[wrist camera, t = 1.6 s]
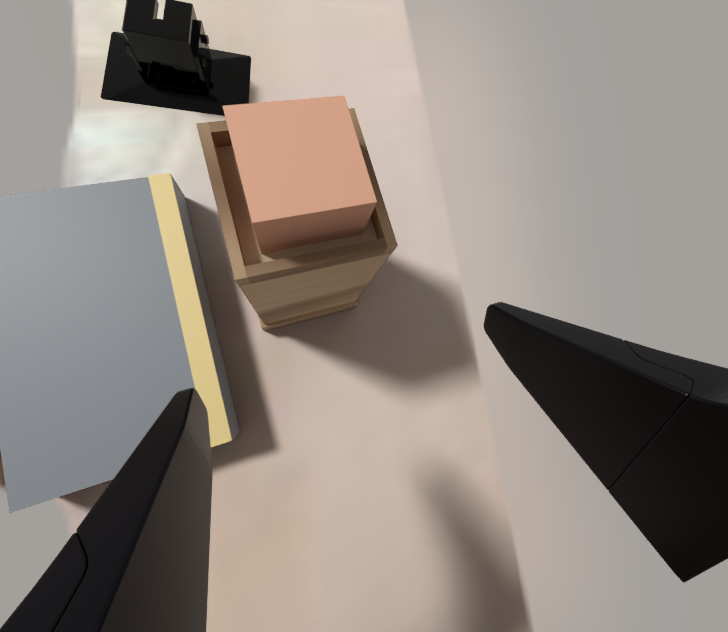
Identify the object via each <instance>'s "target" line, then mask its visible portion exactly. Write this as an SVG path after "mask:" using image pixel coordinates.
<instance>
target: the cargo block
mask: <svg viewBox="0 0 728 632" xmlns="http://www.w3.org/2000/svg"><path fill="white" fill-rule="evenodd" d="M223 110H224V114H225V118H226V122H227V126H228V130H229V134H230V138H231V142H232V146H233V150H234V154H235V158H236V161H237V165H238V169H239V173H240V177H241V181H242V185H243V189H244V193H245V197H246V201H247V205H248V209H249V213H250V217H251V221H252V224H253V228H254V231H255V234H256V238H257V241H258V244H259V248H260V251H261V254H263V253H268V252H273V251H278V250H284V249H289V248H294V247H299V246H304V245H310V244H315V243H320V242H325V241H331V240H336V239H341V238H346V237H351V236H357V235H362V234H363V232H364V230H365V227H366V225H367V223H368V221H369V219H370V216H371V214H372V212H373V210H374V208H375V205H376V203H377V200H376V197H375V194H374V191H373V187H372V184H371V181H370V178H369V174H368V171H367V168H366V165H365V161H364V158H363V155H362V152H361V148H360V145H359V142H358V139H357V135H356V132H355V129H354V126H353V122H352V119H351V116H350V113H349V109H348V106H347V103H346V100H345V96H336V97H324V98H311V99H299V100H287V101H275V102H262V103H250V104H238V105H225V106H223Z"/></svg>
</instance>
